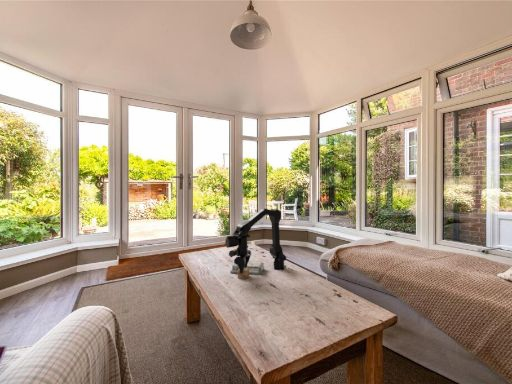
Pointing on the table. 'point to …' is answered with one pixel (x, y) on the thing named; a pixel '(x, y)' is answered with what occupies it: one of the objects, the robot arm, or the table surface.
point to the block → (244, 273)
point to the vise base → (252, 269)
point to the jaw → (234, 266)
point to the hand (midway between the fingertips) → (243, 270)
